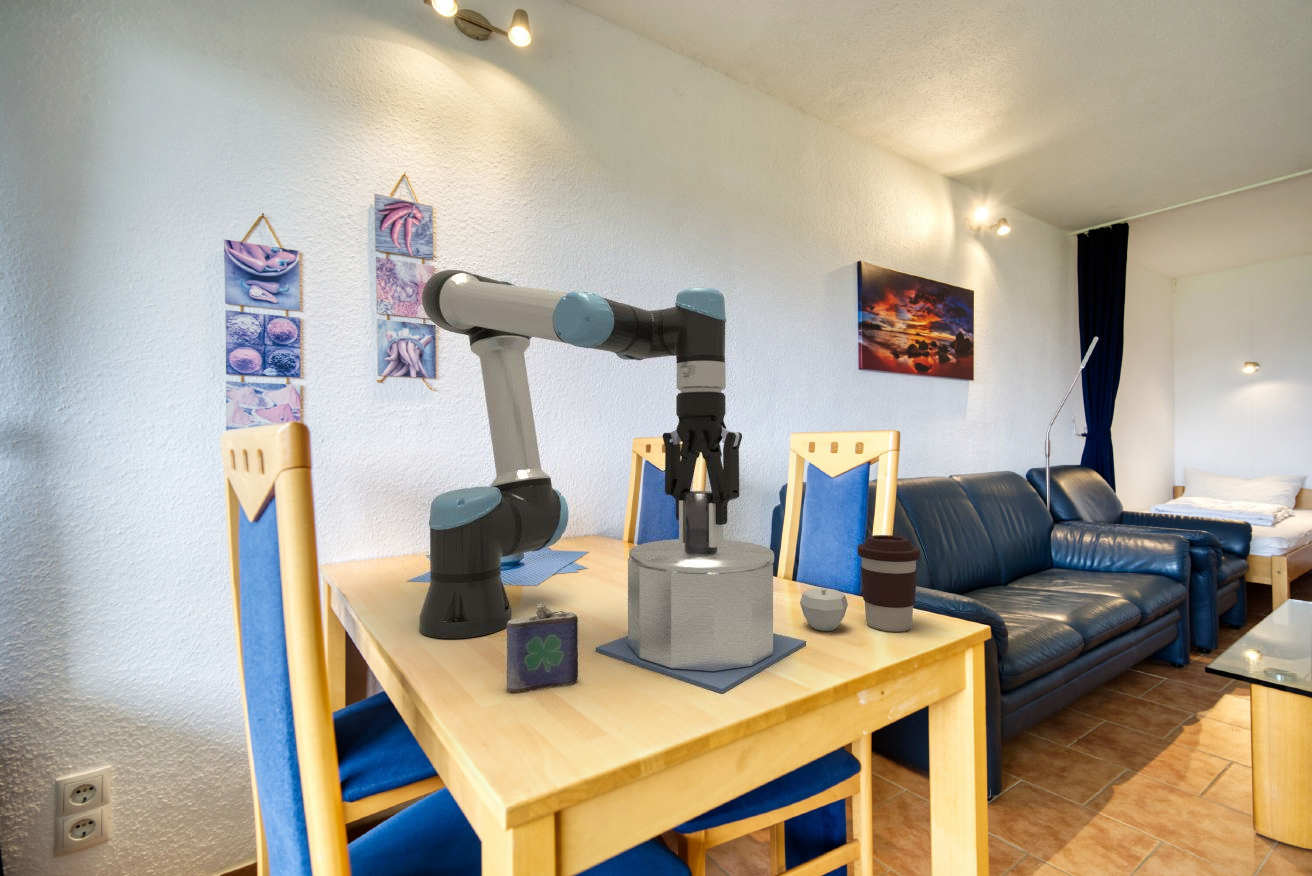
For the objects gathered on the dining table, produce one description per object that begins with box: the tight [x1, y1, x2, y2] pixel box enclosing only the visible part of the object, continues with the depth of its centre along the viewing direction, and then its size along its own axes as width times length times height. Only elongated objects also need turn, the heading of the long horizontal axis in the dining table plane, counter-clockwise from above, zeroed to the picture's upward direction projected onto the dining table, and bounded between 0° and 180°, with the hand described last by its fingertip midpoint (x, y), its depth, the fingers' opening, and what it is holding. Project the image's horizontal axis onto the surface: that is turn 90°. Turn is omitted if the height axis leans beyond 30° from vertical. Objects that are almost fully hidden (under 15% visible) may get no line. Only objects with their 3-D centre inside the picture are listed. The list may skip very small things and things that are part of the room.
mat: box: [595, 632, 807, 694], centre depth 91 cm, size 23×23×1 cm
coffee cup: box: [857, 534, 921, 633], centre depth 101 cm, size 10×10×15 cm
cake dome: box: [627, 490, 775, 671], centre depth 91 cm, size 22×22×23 cm
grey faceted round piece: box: [799, 587, 849, 632], centre depth 100 cm, size 8×8×7 cm
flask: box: [506, 601, 579, 694], centre depth 77 cm, size 9×3×11 cm, turn 110°
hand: (700, 543), depth 91 cm, fingers closed on cake dome, 5 cm apart
